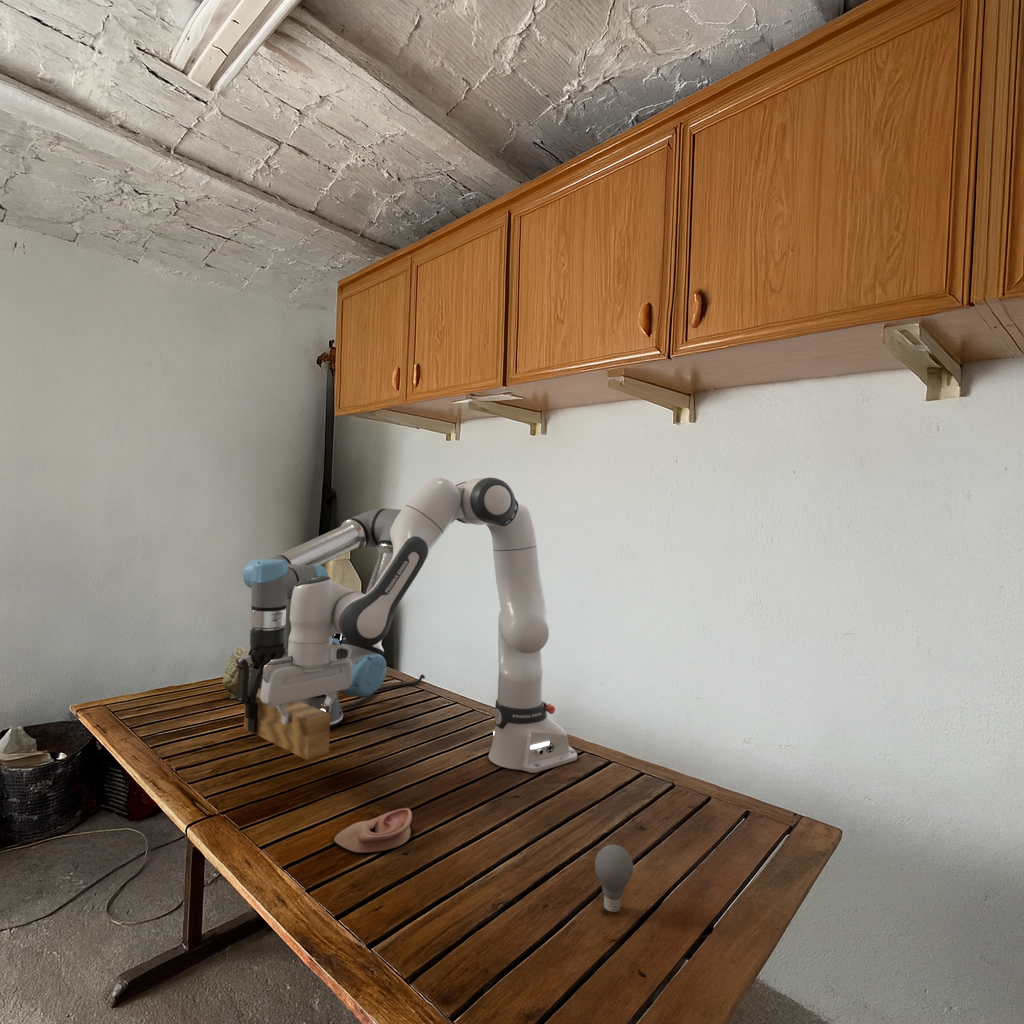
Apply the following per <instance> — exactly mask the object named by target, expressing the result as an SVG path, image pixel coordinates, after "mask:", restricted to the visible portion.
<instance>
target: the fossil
mask: <svg viewBox="0 0 1024 1024" xmlns="http://www.w3.org/2000/svg"><path fill="white" fill-rule="evenodd" d="M250 649H251V647H247V646H246V647H245V646H238V647H237V648H236V649H235V650H233V651H232V653H231V656H230V657H229V659H228V660H227V663H226V666H225V668H224V671H223V675H222V676H223V677H222V685H223V687H224V688H225V690H226V691H228V693H229V698H230V699H237V686H238V669H239V668H238V665H237V662H236V660H237V659H238V658H243V657H245V656H247V655H248V653H249V651H250ZM252 666H253V662H252V661H250V666H249V681H250V678H251V674H252ZM258 669H259V668H258ZM262 681H263V675H262V678H261V682H260V685H259V689H261V686H262ZM248 685H249V683H248Z"/></svg>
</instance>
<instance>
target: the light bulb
mask: <svg viewBox="0 0 1024 1024" xmlns="http://www.w3.org/2000/svg"><path fill="white" fill-rule="evenodd" d="M594 869H595V874H596V875H597V878H598V880H599V882H600V883H601V888H602V893H603V895H604V896H603V907H604V909H605V910H607V911H608V912H612V913H617V912H619V911H620V910H621V901H622V896H623V894H624V889H625V888H626V886H627V884H629V882H630V881H631V878H632V876H633V872H634V862H633V859H632V857H631V855H630V853H629V852H628V851H627V850H626V849H625V848H624V847H622V846H621V845H618V844H608V845H605V846H603V847H602V848H601V849H600V850H599V851H598V852H597V854H596V856H595V859H594Z"/></svg>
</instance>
